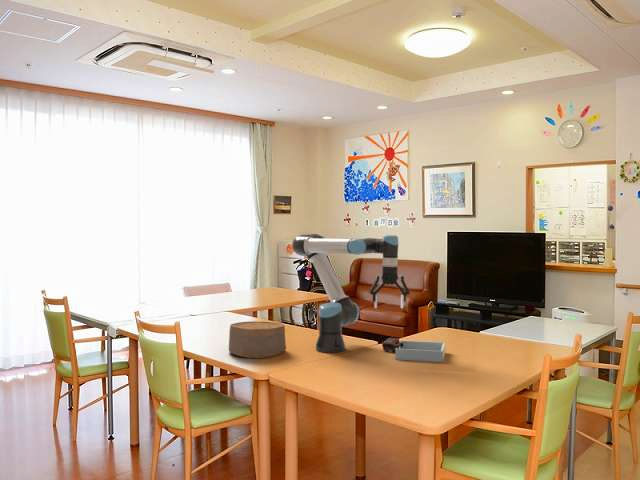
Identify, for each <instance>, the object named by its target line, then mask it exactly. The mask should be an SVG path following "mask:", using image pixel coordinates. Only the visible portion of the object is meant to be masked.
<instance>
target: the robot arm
mask: <svg viewBox="0 0 640 480" xmlns="http://www.w3.org/2000/svg"><path fill="white" fill-rule="evenodd" d="M291 248H292V251H293V252H294V253H295V254H297V255H298V256H301V257H303V256H305V257H306V259H308V262H309V263H312V265H313V266H314V269H315V270H316V273H317V275H318V277H319V280H320V282H321V284H322V285H323V286H322V287H323V288H324V291H325V293H326V295H327V297H328V299H329V301H330V302H324V303H323V304H320V306H319V308H318V338H317V340H316V343H315V351H316V352H320V353H341V352H344V351H346V342H345V340H344V338H343V333H342V331H343V329H342V328H343V327H344V326H350V325H352V324H354V323H356V322H357V321H358V319H359V317H360V308H359V305H357V303H355V302H353V301H352V300H351V298H350V296H349V295H346V294H345V291H344V290H343V288H342V286H341V284H340V281H339V279H338V277H337V275H336V272H335V271H334V269H333V267H332V264H331V262H330V260H329V258H328V254H342V255H343V254H344V255H346V254H347V255H348V254H349V255H351V254H352V255H365V254H382V266H381V267H382V275H375V279H374V282H373V283H372V285H371V287H370V289H369V292H368V293H369V294H370V295H372V302H374V305H373V306H374V309H377V308H378V295H377V294H378V293H379V292H380V290H381V289H382V288H383V287H384V286H385V285H391V286H393V285H394V286H395V287H396V288H397V289H398V291H400V293H401V294H400V309H404V307H405V305H404V303H405V302H406V301H407V300H406V298H407V296H408V295H410V291H409V287H408V286H407V284H406V282H405V280H404V279H405V278H404V276H403V275H402V274H401V275H398V268H399V267H398V264H399V263H398V261H399V258H398V257H399V256H398V255H399V237H398V235H393V234H385V235H383V238H374V237H373V238H372V237H367V238H366V237H365V238H325V236H323V235H322V234H317V233H310V234H309V233H307V234H304V233H303V234H299V235H297V236H295V237H294V239H293V241H292V245H291ZM380 280H382V281H381V282H380V284H379V281H380ZM398 280H399V281H400V283H401V285H402V287H401V285H399V282H397V281H398ZM377 285H378V286H377Z"/></svg>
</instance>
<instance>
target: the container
mask: <svg viewBox="0 0 640 480" xmlns="http://www.w3.org/2000/svg"><path fill="white" fill-rule="evenodd" d="M285 327H286V326H285V324H284V323H281V322H280V323H279V322H271V321H270V322H269V321H239V322H234V323H231V324H230V326H229V335H228V336H229V337H228V352H229V353H231V354H233V355H236V356H238V357H239V356H240V357H242V358H248V359H265V358H271V357H277V356H278V355H281V354H282V353H283V352H285V351H286V349H287V346H286V345H287V344H286V330H285V329H286V328H285Z"/></svg>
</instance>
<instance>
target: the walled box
mask: <svg viewBox="0 0 640 480" xmlns="http://www.w3.org/2000/svg"><path fill="white" fill-rule="evenodd" d="M399 341H400V342H401V343H403V347H399V349H398V348H396V349H395V352H394V353H395V354H394V355H395V356H394V357H395V360H397V361H398V360H400V361H401V360H402V361H413V362H414V361H417V362H418V361H419V362H429V363H431V362H432V363H444V359H445V354H446V343H445V342H438V341H421V340H420V341H419V340H417V341H416V340H403V339H402V340H399Z"/></svg>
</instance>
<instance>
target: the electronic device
mask: <svg viewBox="0 0 640 480" xmlns="http://www.w3.org/2000/svg"><path fill="white" fill-rule="evenodd" d="M400 341H401V340H400V338H396V337H388V338H387V339H385V340H384V341H383V342H382V343H381V346H382V349H383V351H385V352H390V353H393V352H394V353H395V349H396V348H398V349H400V347H403V343H401V342H400Z"/></svg>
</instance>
